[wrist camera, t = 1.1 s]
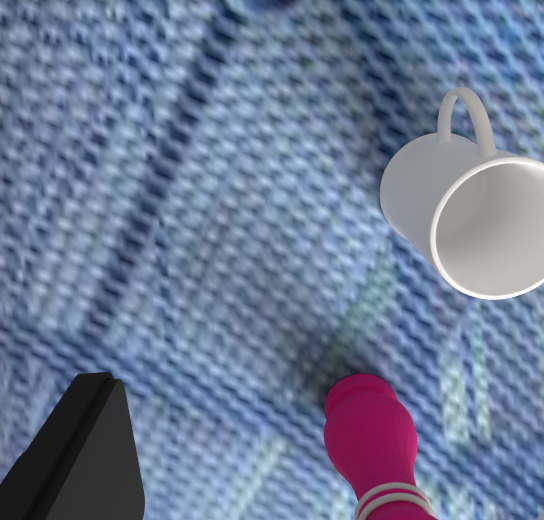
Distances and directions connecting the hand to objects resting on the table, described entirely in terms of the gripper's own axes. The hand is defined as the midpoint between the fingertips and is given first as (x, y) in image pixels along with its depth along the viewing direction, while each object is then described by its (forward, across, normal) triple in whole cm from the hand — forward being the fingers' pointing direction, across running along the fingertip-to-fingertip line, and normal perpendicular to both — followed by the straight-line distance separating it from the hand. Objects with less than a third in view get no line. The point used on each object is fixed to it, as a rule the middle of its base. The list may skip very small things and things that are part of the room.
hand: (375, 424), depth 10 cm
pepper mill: (+31, -4, +21) cm, 38 cm away
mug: (+31, -10, +1) cm, 33 cm away
